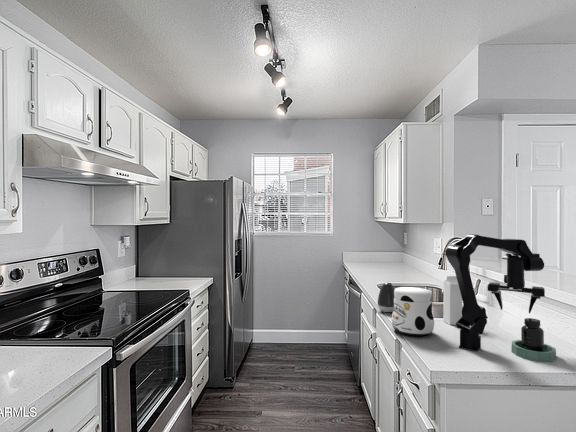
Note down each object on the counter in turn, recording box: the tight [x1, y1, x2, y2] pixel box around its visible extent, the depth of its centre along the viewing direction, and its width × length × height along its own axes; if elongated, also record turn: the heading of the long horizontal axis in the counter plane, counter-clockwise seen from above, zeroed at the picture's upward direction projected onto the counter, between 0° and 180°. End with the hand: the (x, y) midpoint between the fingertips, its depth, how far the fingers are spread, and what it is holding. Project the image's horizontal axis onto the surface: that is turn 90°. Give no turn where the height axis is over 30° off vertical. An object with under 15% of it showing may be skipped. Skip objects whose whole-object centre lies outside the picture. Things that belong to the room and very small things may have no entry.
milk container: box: [391, 286, 435, 337], centre depth 157 cm, size 17×17×18 cm
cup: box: [511, 339, 557, 363], centre depth 132 cm, size 13×13×3 cm
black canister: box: [377, 282, 395, 313], centre depth 192 cm, size 10×10×15 cm
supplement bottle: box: [520, 317, 545, 352], centre depth 133 cm, size 7×7×12 cm
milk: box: [442, 275, 463, 326], centre depth 172 cm, size 6×6×22 cm
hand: (515, 311), depth 143 cm, fingers open, 9 cm apart
